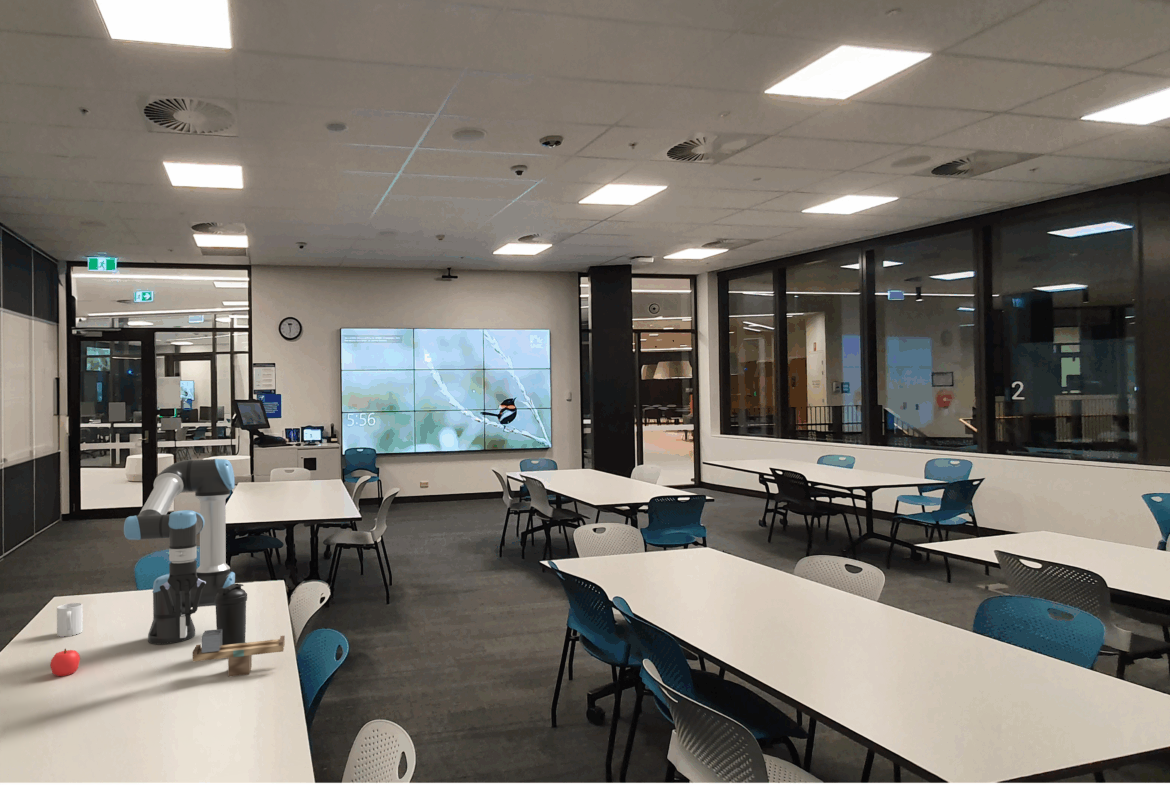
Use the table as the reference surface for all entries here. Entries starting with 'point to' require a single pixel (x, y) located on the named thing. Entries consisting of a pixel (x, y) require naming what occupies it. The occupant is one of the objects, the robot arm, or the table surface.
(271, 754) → the table surface
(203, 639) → the block
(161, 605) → the robot arm
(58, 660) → the apple
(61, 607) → the mug
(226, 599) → the water bottle
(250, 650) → the beam
